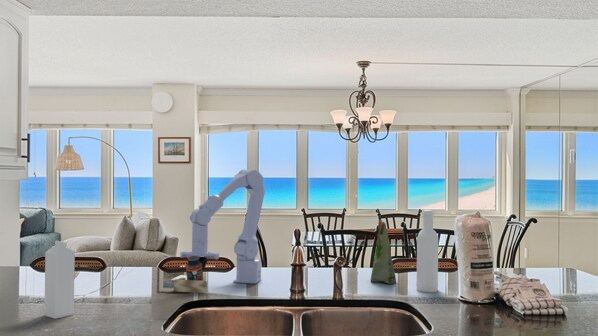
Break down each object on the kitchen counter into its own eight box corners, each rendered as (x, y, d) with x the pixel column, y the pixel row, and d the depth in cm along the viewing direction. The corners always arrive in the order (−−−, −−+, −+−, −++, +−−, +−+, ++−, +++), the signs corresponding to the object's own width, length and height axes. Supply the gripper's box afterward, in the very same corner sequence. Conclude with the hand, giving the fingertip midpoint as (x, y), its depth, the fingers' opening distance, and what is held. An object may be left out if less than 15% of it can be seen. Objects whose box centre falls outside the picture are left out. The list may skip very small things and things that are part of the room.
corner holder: (209, 290, 189) (210, 279, 189) (205, 293, 185) (205, 281, 185) (179, 288, 191) (179, 277, 191) (173, 291, 187) (173, 280, 187)
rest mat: (201, 277, 211) (201, 276, 211) (192, 281, 203) (192, 280, 203) (180, 275, 213) (180, 275, 213) (171, 280, 204) (171, 279, 204)
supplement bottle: (200, 290, 188) (197, 262, 185) (185, 289, 189) (182, 261, 186) (206, 283, 194) (203, 255, 191) (191, 282, 195) (188, 254, 192)
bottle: (439, 289, 197) (440, 210, 197) (435, 293, 190) (437, 211, 190) (418, 286, 200) (419, 209, 200) (414, 291, 193) (415, 210, 193)
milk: (63, 311, 159) (64, 239, 159) (74, 314, 156) (75, 241, 156) (43, 315, 154) (45, 241, 155) (54, 319, 151) (55, 243, 151)
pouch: (384, 286, 200) (385, 221, 200) (361, 281, 209) (362, 219, 209) (402, 282, 207) (403, 220, 207) (379, 277, 216) (380, 217, 216)
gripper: (177, 241, 192) (176, 278, 192) (214, 243, 190) (213, 280, 190) (185, 239, 199) (184, 274, 199) (221, 240, 196) (220, 276, 196)
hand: (199, 277), depth 195 cm, fingers closed, pressing on supplement bottle
